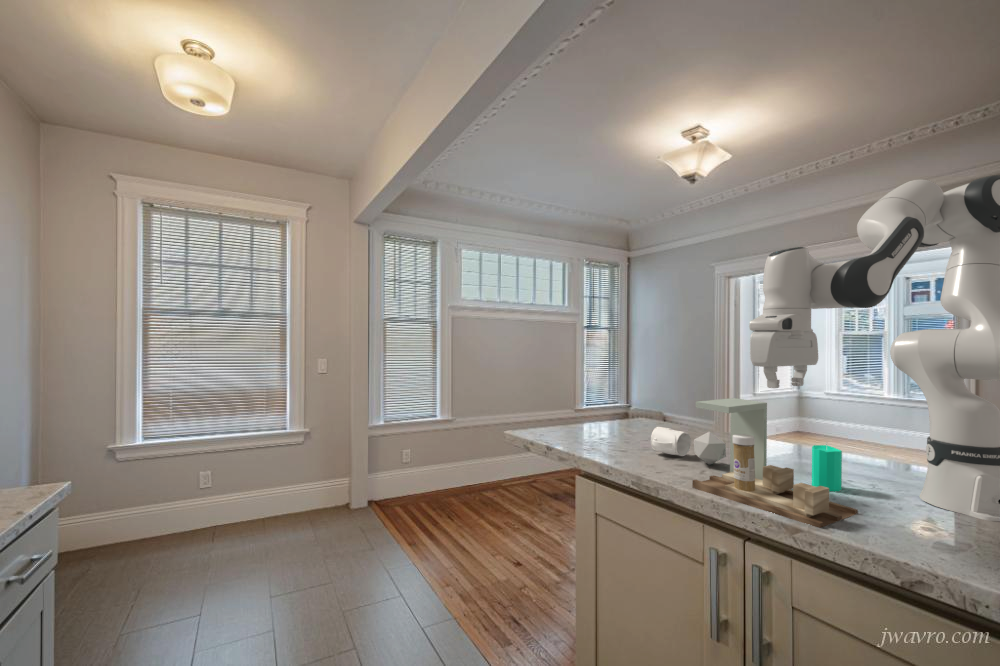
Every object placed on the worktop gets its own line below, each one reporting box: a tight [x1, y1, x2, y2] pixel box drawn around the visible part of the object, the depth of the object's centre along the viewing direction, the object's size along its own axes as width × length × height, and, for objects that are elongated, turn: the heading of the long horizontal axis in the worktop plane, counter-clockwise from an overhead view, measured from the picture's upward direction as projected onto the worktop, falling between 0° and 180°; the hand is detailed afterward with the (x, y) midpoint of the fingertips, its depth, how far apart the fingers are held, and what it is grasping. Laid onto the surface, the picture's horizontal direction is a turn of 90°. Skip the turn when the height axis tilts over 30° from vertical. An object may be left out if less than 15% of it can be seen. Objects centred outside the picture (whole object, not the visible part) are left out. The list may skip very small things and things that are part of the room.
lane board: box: [691, 471, 859, 529], centre depth 104 cm, size 29×15×2 cm, turn 29°
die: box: [693, 431, 727, 466], centre depth 132 cm, size 8×9×10 cm
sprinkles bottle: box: [733, 434, 755, 491], centre depth 105 cm, size 5×5×14 cm
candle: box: [811, 441, 843, 492], centre depth 112 cm, size 6×6×12 cm
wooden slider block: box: [721, 464, 795, 494], centre depth 110 cm, size 15×6×6 cm, turn 29°
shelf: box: [695, 397, 768, 480], centre depth 113 cm, size 9×15×22 cm, turn 119°
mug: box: [650, 426, 693, 457], centre depth 144 cm, size 12×9×8 cm
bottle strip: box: [725, 482, 830, 517], centre depth 99 cm, size 20×6×6 cm, turn 29°
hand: (785, 387), depth 97 cm, fingers open, 8 cm apart
